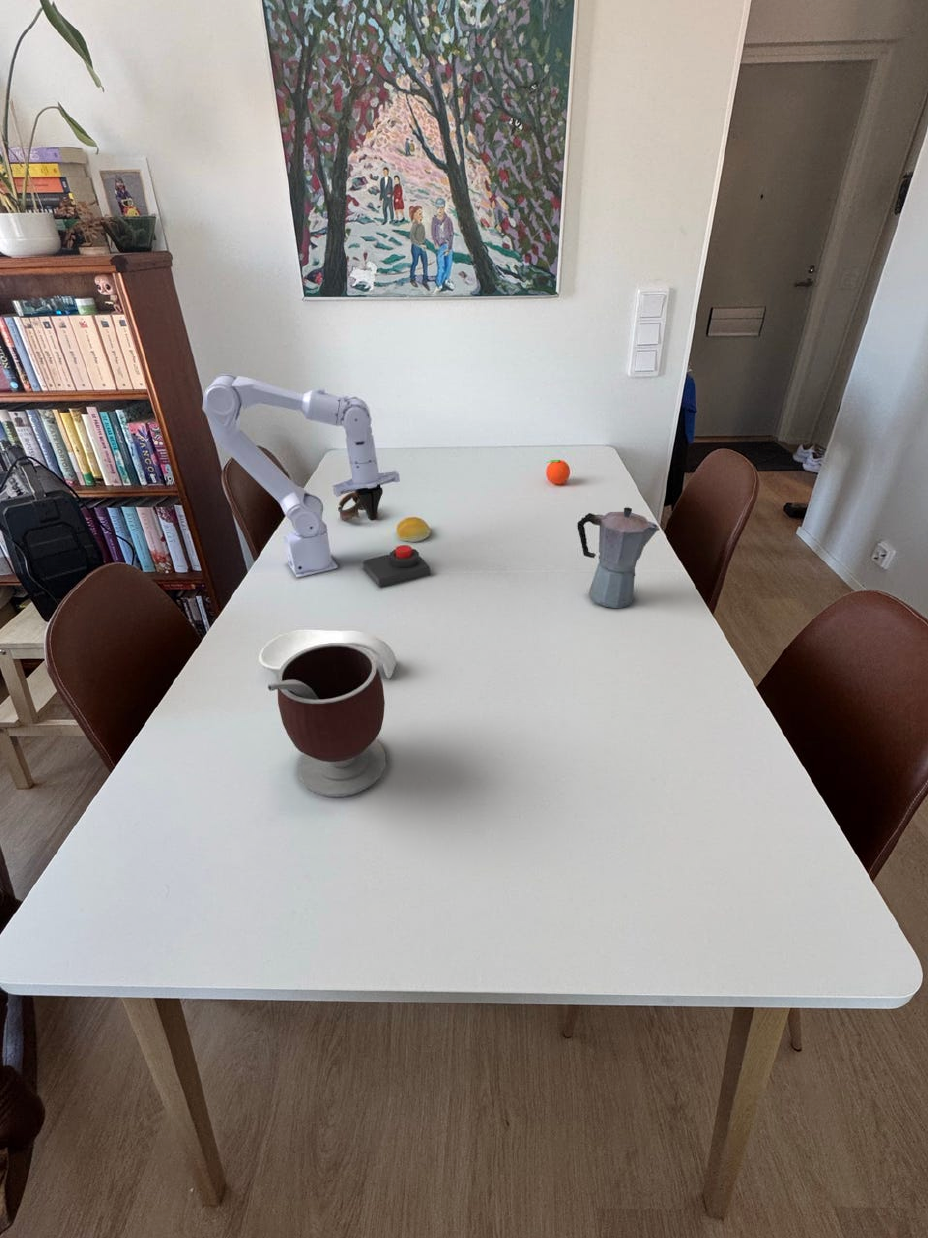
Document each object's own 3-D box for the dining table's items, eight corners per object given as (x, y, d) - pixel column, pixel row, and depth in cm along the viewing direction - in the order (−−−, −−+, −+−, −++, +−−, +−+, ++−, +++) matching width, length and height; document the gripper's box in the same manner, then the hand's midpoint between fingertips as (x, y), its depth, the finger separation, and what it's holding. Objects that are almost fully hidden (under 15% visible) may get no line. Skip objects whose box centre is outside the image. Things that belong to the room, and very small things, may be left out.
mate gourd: (347, 719, 99) (330, 612, 89) (410, 758, 92) (401, 647, 81) (265, 776, 89) (235, 664, 79) (329, 826, 82) (305, 709, 71)
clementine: (539, 486, 183) (541, 462, 179) (544, 478, 189) (545, 454, 185) (567, 488, 181) (568, 464, 177) (570, 480, 187) (572, 456, 183)
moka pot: (648, 613, 124) (664, 520, 113) (569, 606, 127) (577, 514, 116) (646, 589, 132) (661, 500, 121) (572, 583, 135) (580, 495, 124)
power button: (399, 560, 137) (399, 553, 136) (393, 554, 140) (392, 547, 139) (414, 557, 138) (414, 549, 138) (408, 550, 141) (407, 543, 140)
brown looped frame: (382, 526, 163) (364, 503, 157) (351, 540, 165) (333, 519, 159) (381, 497, 171) (364, 476, 165) (351, 512, 173) (334, 491, 167)
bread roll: (401, 545, 152) (399, 530, 150) (395, 530, 159) (393, 515, 157) (434, 540, 154) (433, 525, 151) (426, 526, 161) (425, 511, 159)
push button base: (379, 588, 134) (378, 572, 132) (363, 569, 142) (362, 553, 140) (430, 575, 139) (429, 559, 137) (412, 557, 146) (411, 541, 144)
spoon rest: (252, 684, 107) (243, 650, 103) (277, 645, 117) (270, 612, 113) (387, 692, 105) (383, 657, 101) (401, 651, 115) (398, 618, 111)
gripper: (335, 472, 127) (347, 533, 134) (401, 456, 132) (409, 516, 139) (325, 462, 132) (337, 522, 139) (389, 448, 137) (397, 506, 145)
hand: (372, 518), depth 140 cm, fingers closed
